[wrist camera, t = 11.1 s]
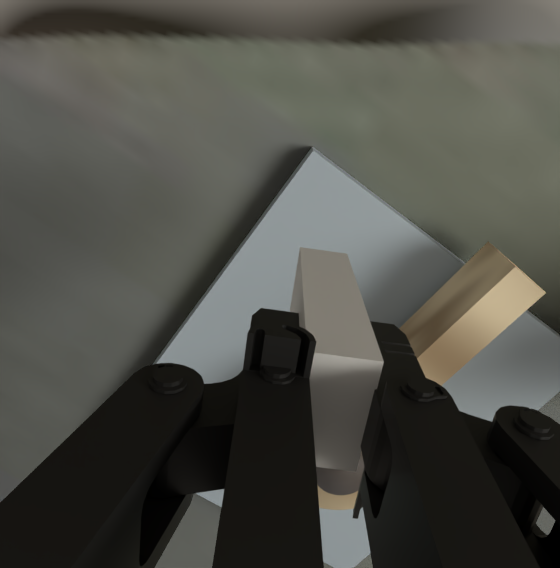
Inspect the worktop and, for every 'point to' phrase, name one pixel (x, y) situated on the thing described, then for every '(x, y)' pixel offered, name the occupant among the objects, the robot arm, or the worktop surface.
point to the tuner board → (377, 299)
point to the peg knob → (450, 338)
